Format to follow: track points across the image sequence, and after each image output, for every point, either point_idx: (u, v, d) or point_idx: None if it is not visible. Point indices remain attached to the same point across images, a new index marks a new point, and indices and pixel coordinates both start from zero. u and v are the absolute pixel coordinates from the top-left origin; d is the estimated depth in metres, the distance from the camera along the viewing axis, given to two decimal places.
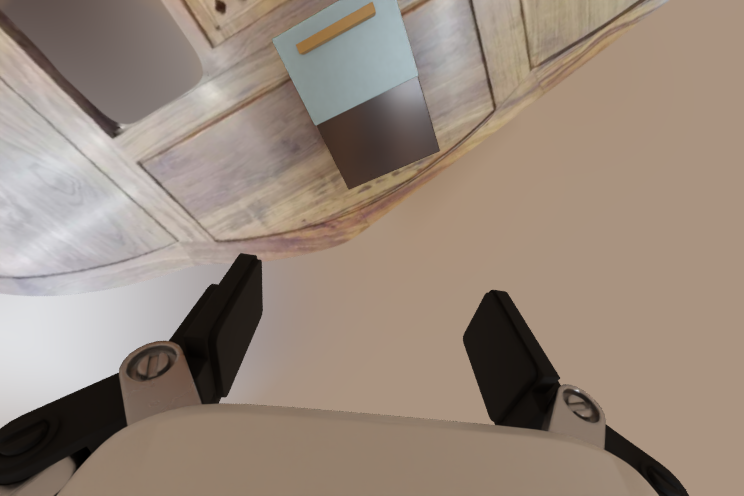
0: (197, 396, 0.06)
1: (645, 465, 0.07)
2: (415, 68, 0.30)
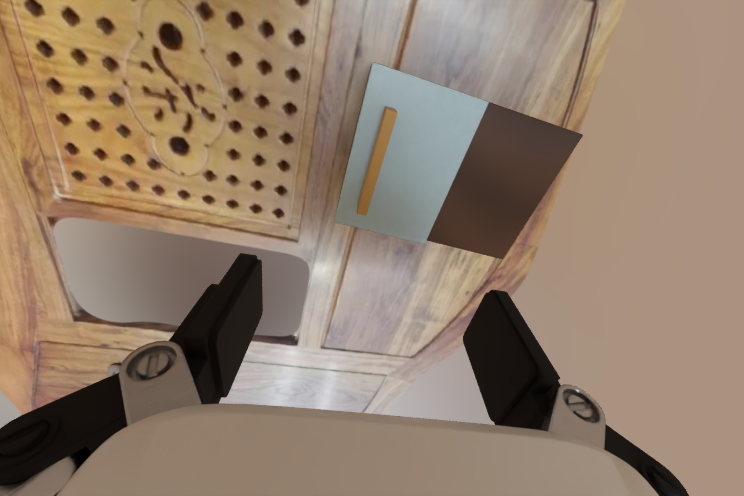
0: (197, 396, 0.06)
1: (646, 465, 0.07)
2: (479, 100, 0.21)
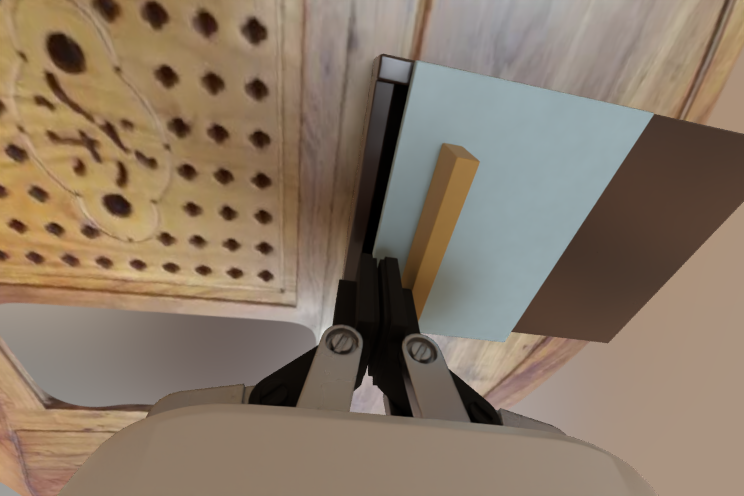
0: (352, 390, 0.07)
1: (473, 402, 0.08)
2: (634, 113, 0.10)
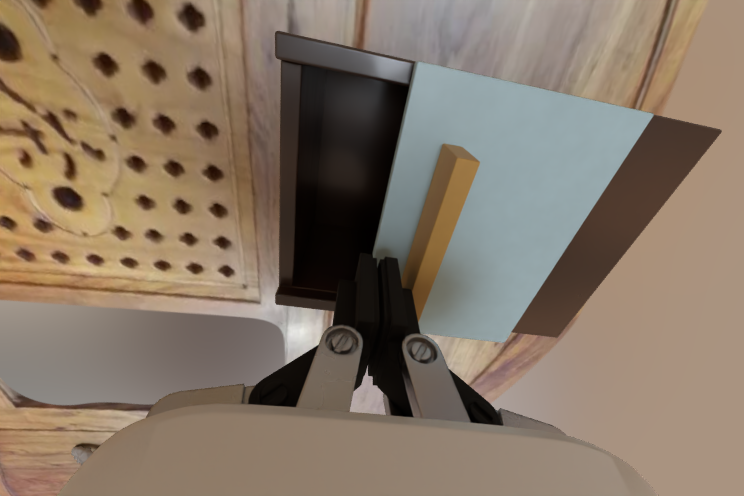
0: (352, 390, 0.07)
1: (473, 402, 0.08)
2: (634, 113, 0.10)
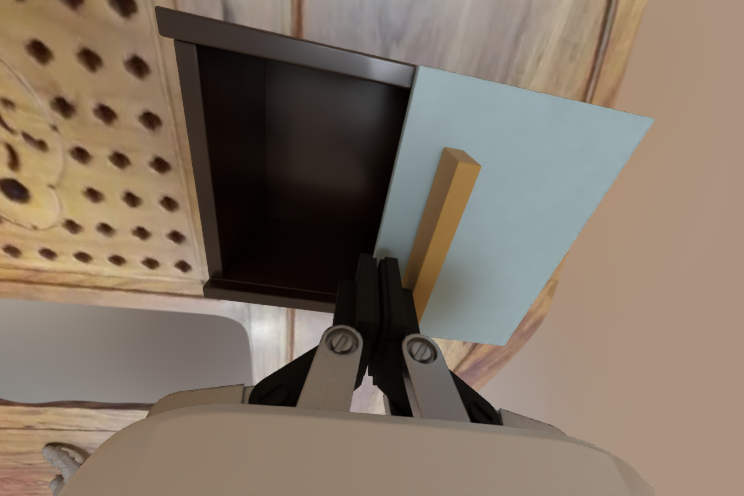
0: (352, 390, 0.07)
1: (473, 402, 0.08)
2: (635, 118, 0.10)
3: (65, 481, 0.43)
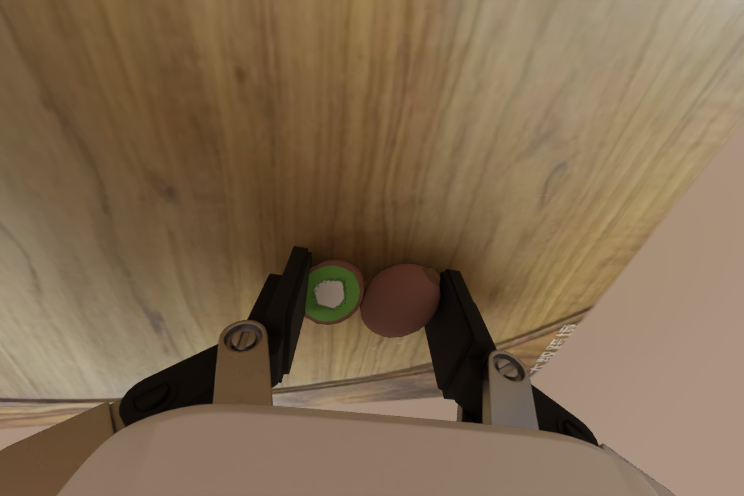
0: (269, 379, 0.07)
1: (565, 420, 0.08)
2: None
3: None
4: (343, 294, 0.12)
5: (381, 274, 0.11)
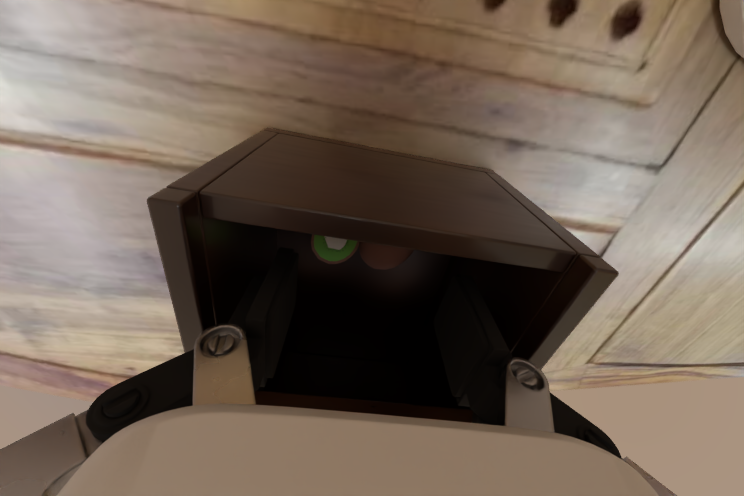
0: (251, 381, 0.07)
1: (585, 429, 0.08)
2: None
3: None
4: None
5: None
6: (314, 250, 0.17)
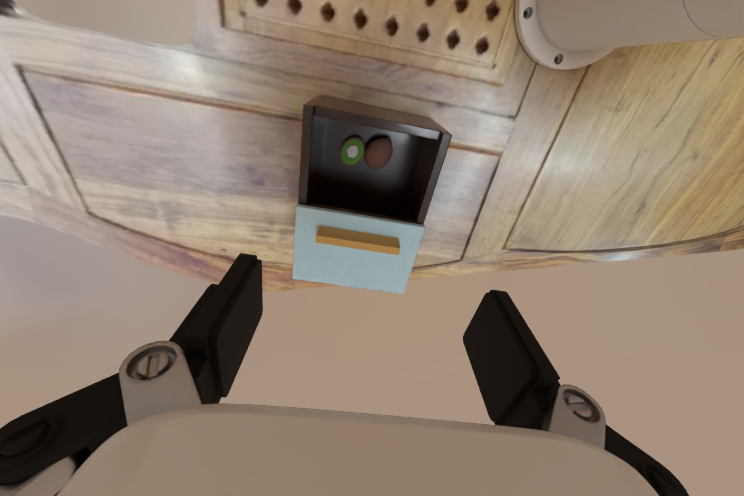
0: (197, 396, 0.06)
1: (646, 465, 0.07)
2: (403, 289, 0.32)
3: None
4: (357, 150, 0.32)
5: None
6: (341, 158, 0.33)
